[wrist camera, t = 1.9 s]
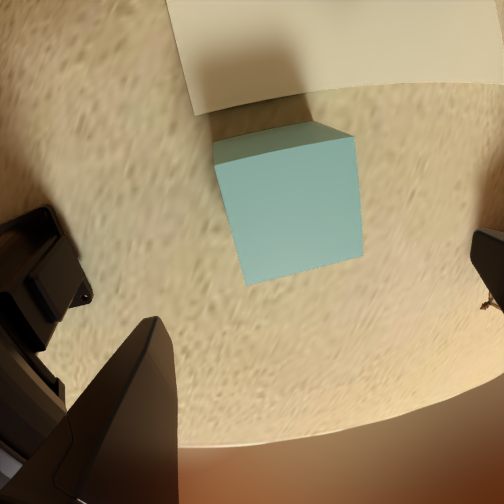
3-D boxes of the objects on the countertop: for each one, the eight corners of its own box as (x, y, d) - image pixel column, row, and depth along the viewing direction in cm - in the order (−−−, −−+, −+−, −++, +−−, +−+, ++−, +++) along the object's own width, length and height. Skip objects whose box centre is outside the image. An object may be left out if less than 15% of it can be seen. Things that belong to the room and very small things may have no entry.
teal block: (236, 232, 17) (246, 285, 13) (213, 141, 15) (214, 165, 11) (326, 210, 17) (363, 255, 13) (312, 120, 15) (353, 136, 11)
